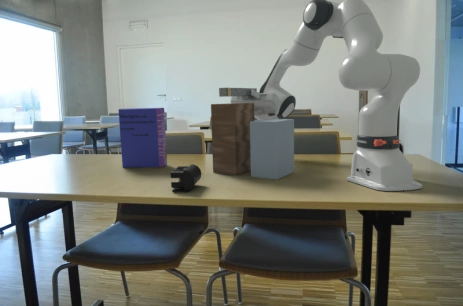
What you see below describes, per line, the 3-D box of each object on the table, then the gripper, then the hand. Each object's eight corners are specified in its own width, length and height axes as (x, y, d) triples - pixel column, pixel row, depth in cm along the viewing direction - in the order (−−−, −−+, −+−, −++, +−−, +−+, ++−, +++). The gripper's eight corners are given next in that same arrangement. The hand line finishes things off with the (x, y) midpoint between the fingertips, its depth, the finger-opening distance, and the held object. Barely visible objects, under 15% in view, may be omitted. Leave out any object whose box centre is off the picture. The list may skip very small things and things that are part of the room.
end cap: (194, 193, 104) (193, 170, 103) (171, 192, 105) (169, 170, 104) (202, 184, 114) (201, 163, 113) (180, 184, 115) (179, 164, 114)
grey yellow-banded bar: (249, 96, 145) (249, 88, 145) (257, 96, 143) (257, 88, 143) (218, 96, 127) (218, 88, 126) (227, 96, 125) (226, 87, 124)
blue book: (167, 165, 150) (164, 107, 147) (164, 167, 146) (160, 107, 142) (127, 165, 152) (123, 108, 148) (122, 167, 147) (118, 108, 144)
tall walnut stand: (233, 166, 144) (231, 103, 140) (255, 168, 139) (254, 102, 135) (213, 172, 132) (210, 104, 129) (236, 175, 127) (234, 103, 123)
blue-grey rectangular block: (269, 169, 135) (268, 119, 133) (294, 171, 130) (294, 119, 127) (250, 176, 124) (249, 121, 121) (277, 179, 118) (276, 121, 116)
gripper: (241, 102, 156) (225, 85, 146) (284, 100, 146) (271, 82, 135) (237, 114, 155) (221, 99, 144) (281, 114, 144) (267, 97, 133)
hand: (246, 91), depth 139 cm, fingers closed on grey yellow-banded bar, 3 cm apart
